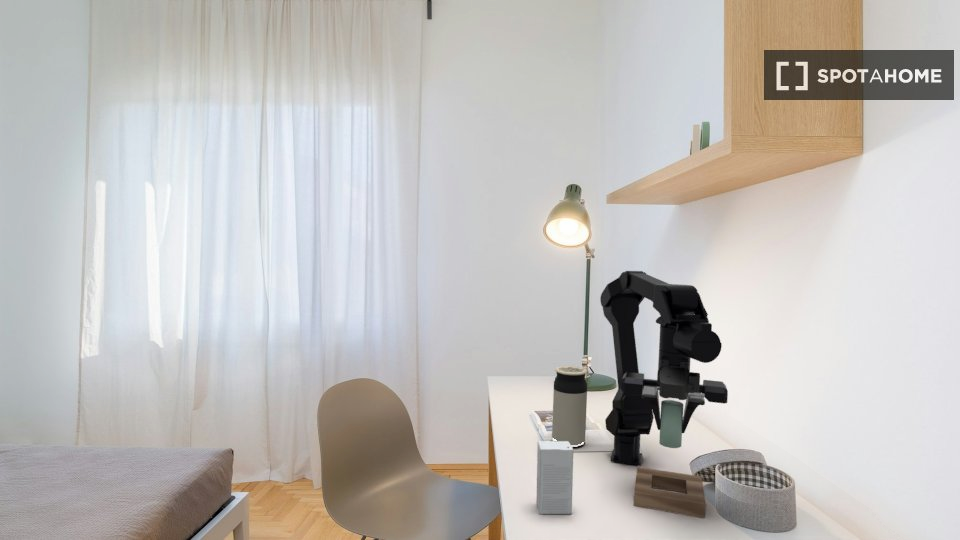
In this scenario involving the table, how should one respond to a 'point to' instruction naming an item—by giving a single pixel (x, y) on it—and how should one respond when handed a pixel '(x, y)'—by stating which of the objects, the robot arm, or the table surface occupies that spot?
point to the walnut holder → (668, 500)
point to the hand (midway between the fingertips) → (670, 431)
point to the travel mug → (569, 405)
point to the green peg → (671, 423)
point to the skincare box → (554, 477)
